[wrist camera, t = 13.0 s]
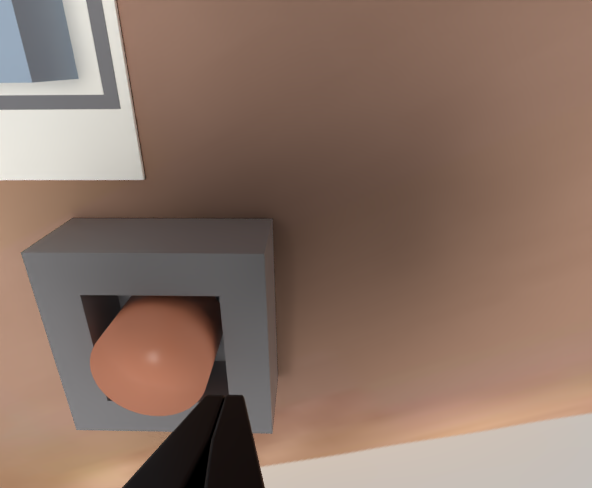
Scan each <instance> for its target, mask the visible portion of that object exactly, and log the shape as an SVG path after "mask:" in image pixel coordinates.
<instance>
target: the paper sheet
mask: <svg viewBox="0 0 592 488" xmlns="http://www.w3.org/2000/svg"><path fill="white" fill-rule="evenodd" d="M62 2H63V7H64V12H65V16H66V21H67V26H68V31H69V35H70V40H71V45H72V49H73V54H74V59H75V64H76V68H77V73H78V78H79V79H70V80H58V81H46V82H34V83H0V180H144V179H145V174H144V168H143V162H142V156H141V149H140V143H139V137H138V131H137V125H136V119H135V113H134V106H133V100H132V94H131V88H130V82H129V76H128V70H127V64H126V57H125V51H124V45H123V39H122V33H121V27H120V21H119V15H118V8H117V2H116V0H62Z"/></svg>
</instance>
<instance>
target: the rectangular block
mask: <svg viewBox="0 0 592 488" xmlns="http://www.w3.org/2000/svg"><path fill="white" fill-rule="evenodd" d="M70 79H79V78H78V73H77V68H76V64H75V59H74V54H73V49H72V45H71V40H70V35H69V31H68V26H67V21H66V16H65V12H64V7H63V2H62V0H0V83H34V82H46V81H58V80H70Z"/></svg>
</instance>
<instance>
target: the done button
mask: <svg viewBox="0 0 592 488" xmlns="http://www.w3.org/2000/svg"><path fill="white" fill-rule="evenodd" d="M222 335H223V329H222V319H221V309H220V303H219V301H218V300H217V298H216V297H215V296H135V295H132V296H131V297H130V298H129V300H128V301H127V302H126V304H125V305H124V306H123V307H122V309H121V310H120V311H119V313H118V314H117V315H116V317H115V318H114V319H113V321H112V322H111V323H110V325H109V326H108V327H107V329H106V330H105V331H104V333H103V334H102V335H101V337H100V338H99V339H98V341H97V342H96V343H95V345H94V347H93V349H92V352H91V356H90V369H91V373H92V376H93V378H94V380H95V382H96V384H97V385H98V387H99V388H100V390H101V391H102V392H103V393H104V394H105V395H106V396H107V397H108V398H109V399H111V400H112V401H113V402H115V403H116V404H118V405H120V406H121V407H123V408H125V409H127V410H130V411H133V412H135V413H139V414H143V415H149V416H168V415H174V414H178V413H180V412H183V411H185V410H187V409H189V408H191V407H192V406H193V405H195V404H196V403H197V402H198V401H199V400H200V398H201V397H202V396H203V394H204V392H205V389H206V386H207V383H208V380H209V376H210V373H211V370H212V367H213V364H214V361H215V357H216V354H217V351H218V348H219V345H220V342H221V338H222Z"/></svg>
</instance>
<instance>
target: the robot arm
mask: <svg viewBox="0 0 592 488" xmlns="http://www.w3.org/2000/svg"><path fill="white" fill-rule="evenodd" d="M122 488H265V487H264V482H263V478H262V474H261V469H260V465H259V460H258V456H257V451H256V447H255V442H254V438H253V434H252V429H251V425H250V420H249V416H248V411H247V407H246V403H245V398H244V396H243V395H226V396H224V395H222V394H208V395H206V396H205V397H204V398H203V399H202V400H201V401H200V402H199V403H198V404H197V405H196V407H195V408H194V409H193V410H192V411H191V412H190V413H189V414H188V415H187V417H186V418H185V419H184V420H183V421H182V422H181V423H180V424H179V425H178V426H177V428H176V429H175V430H174V431H173V432H172V433H171V434H170V435H169V436H168V438H167V439H166V440H165V441H164V442H163V443H162V444H161V445H160V446H159V448H158V449H157V450H156V451H155V452H154V453H153V454H152V455H151V456H150V457H149V459H148V460H147V461H146V462H145V463H144V464H143V465H142V466H141V467H140V469H139V470H138V471H137V472H136V473H135V474H134V475H133V476H132V477H131V479H130V480H129V481H128V482H127V483H126V484H125V485H124V486H123V487H122Z"/></svg>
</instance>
